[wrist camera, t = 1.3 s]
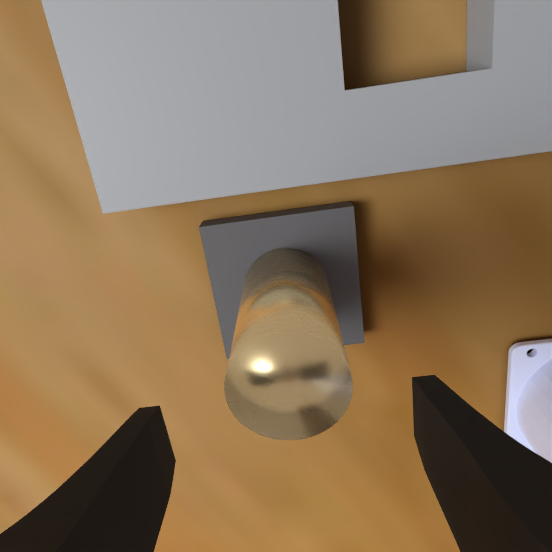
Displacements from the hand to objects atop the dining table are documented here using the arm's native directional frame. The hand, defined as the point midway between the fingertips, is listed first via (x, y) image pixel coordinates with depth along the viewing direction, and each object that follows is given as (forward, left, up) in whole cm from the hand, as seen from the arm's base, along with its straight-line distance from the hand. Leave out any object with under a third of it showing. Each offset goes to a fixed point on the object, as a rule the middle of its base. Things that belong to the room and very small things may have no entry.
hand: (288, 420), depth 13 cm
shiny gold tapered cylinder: (0, 0, -9) cm, 9 cm away
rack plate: (-3, -11, -10) cm, 15 cm away
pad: (0, 0, -10) cm, 10 cm away
